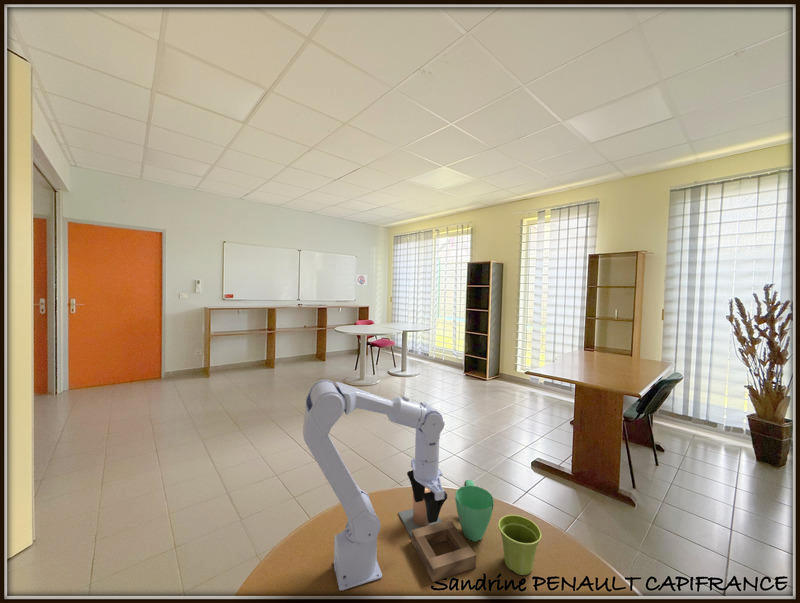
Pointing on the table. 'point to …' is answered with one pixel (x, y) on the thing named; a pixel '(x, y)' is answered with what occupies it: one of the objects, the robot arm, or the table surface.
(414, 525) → the mat
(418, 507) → the peach rounded cylinder
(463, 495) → the mug
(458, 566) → the holder
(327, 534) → the table surface
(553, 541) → the table surface
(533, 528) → the plant pot
